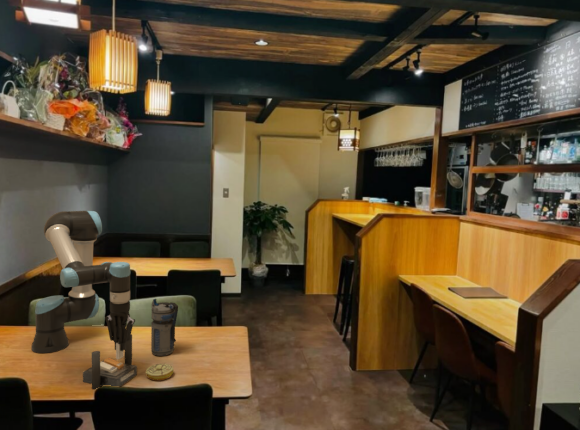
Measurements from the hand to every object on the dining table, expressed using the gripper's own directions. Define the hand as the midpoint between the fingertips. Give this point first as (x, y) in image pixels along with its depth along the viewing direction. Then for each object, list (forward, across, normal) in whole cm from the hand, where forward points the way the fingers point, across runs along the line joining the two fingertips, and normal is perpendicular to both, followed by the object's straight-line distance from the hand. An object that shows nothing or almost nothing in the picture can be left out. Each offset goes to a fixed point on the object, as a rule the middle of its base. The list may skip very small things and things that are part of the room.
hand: (119, 357), depth 169 cm
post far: (+8, -3, +9) cm, 12 cm away
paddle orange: (+3, -3, 0) cm, 4 cm away
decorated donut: (+9, +14, +7) cm, 18 cm away
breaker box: (+8, -3, -2) cm, 9 cm away
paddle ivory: (+3, -3, -4) cm, 6 cm away
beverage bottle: (+9, +3, +27) cm, 28 cm away
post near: (+8, -3, -10) cm, 13 cm away
